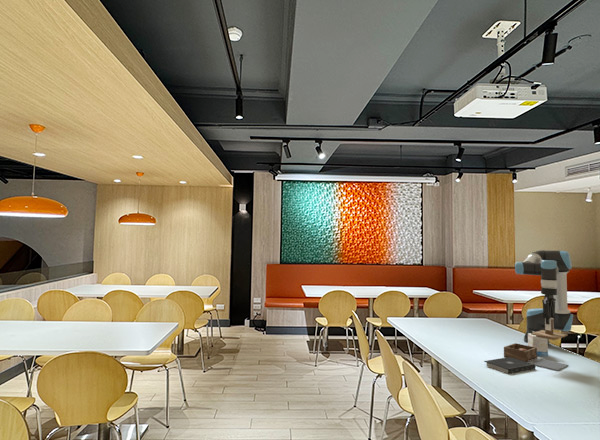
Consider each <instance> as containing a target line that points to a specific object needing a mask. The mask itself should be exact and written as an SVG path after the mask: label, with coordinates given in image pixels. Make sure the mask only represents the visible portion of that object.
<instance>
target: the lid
mask: <svg viewBox="0 0 600 440" xmlns="http://www.w3.org/2000/svg"><path fill="white" fill-rule="evenodd" d="M531 335H535V336H536V337H540V338H545V339H549V340H551V341H555V340H556V341H557V340H559V339H562V338H565V337H567V336H568V333H563V332H556V331H554V330H553V319H551V331H549V330H540V331H537V332H534V333H531Z"/></svg>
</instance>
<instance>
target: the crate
mask: <svg viewBox="0 0 600 440" xmlns="http://www.w3.org/2000/svg"><path fill="white" fill-rule="evenodd" d="M506 357H511V358H515V359H518V360H521V361H525V362H528V363H529V362H531V361H533V360H536V359H537V358H538V356H537V348H536V347H531V346H528V344H521V343H516V342H515V343H512V344H511V343H510V344H509V345H506V346H503V358H506Z"/></svg>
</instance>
